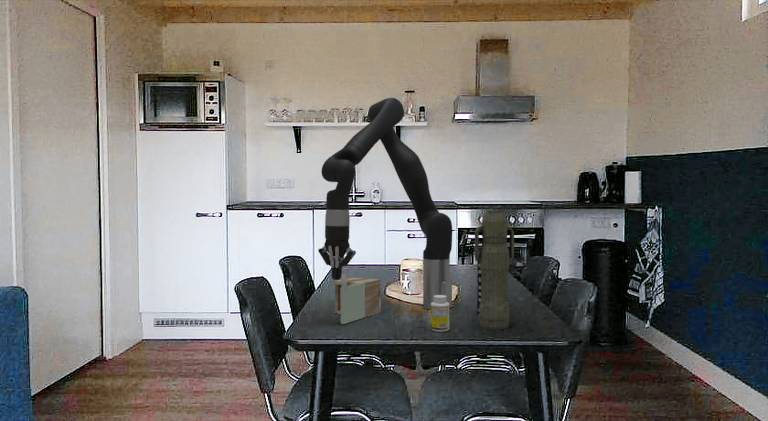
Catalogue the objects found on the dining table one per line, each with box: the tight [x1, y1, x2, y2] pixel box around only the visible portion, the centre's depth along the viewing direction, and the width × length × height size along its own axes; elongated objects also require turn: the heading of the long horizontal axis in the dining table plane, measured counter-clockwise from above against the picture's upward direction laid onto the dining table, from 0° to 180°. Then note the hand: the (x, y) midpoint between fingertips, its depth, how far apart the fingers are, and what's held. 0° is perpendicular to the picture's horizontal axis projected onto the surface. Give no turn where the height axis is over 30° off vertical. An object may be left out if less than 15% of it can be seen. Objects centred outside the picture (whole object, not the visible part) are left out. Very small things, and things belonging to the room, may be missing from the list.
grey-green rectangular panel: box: [340, 271, 366, 325], centre depth 208 cm, size 12×2×16 cm, turn 148°
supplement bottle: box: [430, 295, 451, 333], centre depth 196 cm, size 6×6×10 cm
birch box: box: [333, 276, 382, 318], centre depth 221 cm, size 12×10×11 cm
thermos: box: [474, 210, 515, 330], centre depth 200 cm, size 9×12×35 cm
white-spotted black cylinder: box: [476, 253, 481, 318], centre depth 216 cm, size 8×8×20 cm
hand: (336, 279), depth 206 cm, fingers closed
